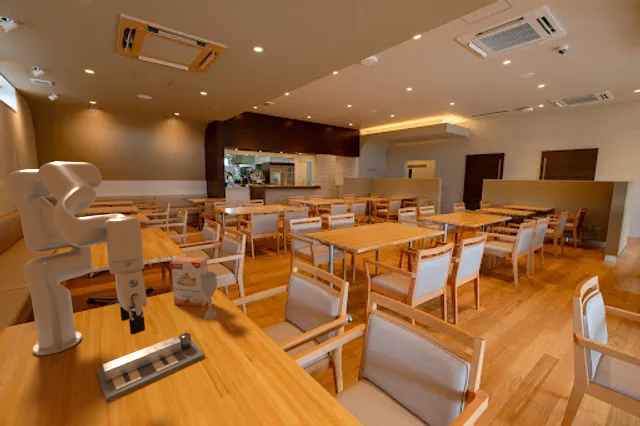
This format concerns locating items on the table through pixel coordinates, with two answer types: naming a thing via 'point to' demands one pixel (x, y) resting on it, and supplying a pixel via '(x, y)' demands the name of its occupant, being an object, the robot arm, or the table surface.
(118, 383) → the label board
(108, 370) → the swing bar
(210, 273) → the chalice
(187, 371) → the table surface
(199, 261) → the cracker box
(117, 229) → the robot arm
